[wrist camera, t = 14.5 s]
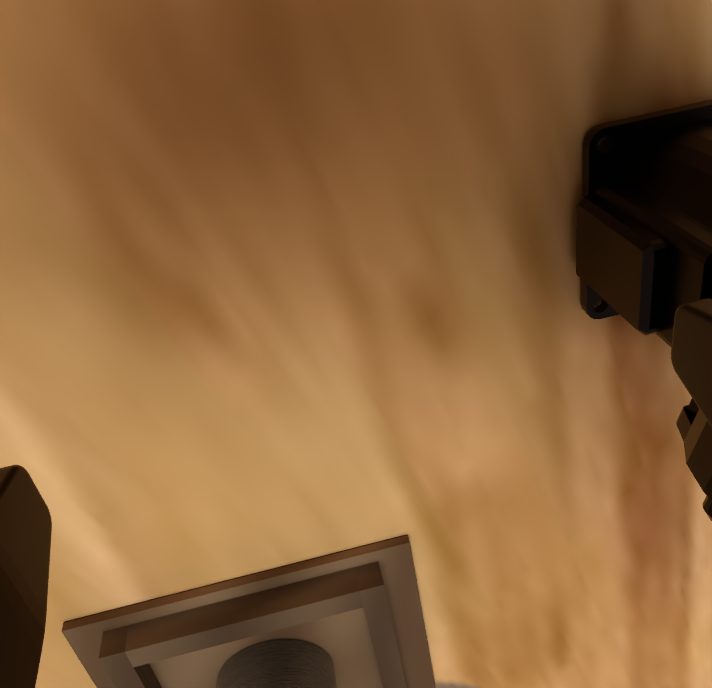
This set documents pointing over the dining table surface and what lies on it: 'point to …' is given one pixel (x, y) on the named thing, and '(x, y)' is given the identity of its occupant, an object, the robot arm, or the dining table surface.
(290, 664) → the grey cylindrical can
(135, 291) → the dining table surface
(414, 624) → the grey square tray
